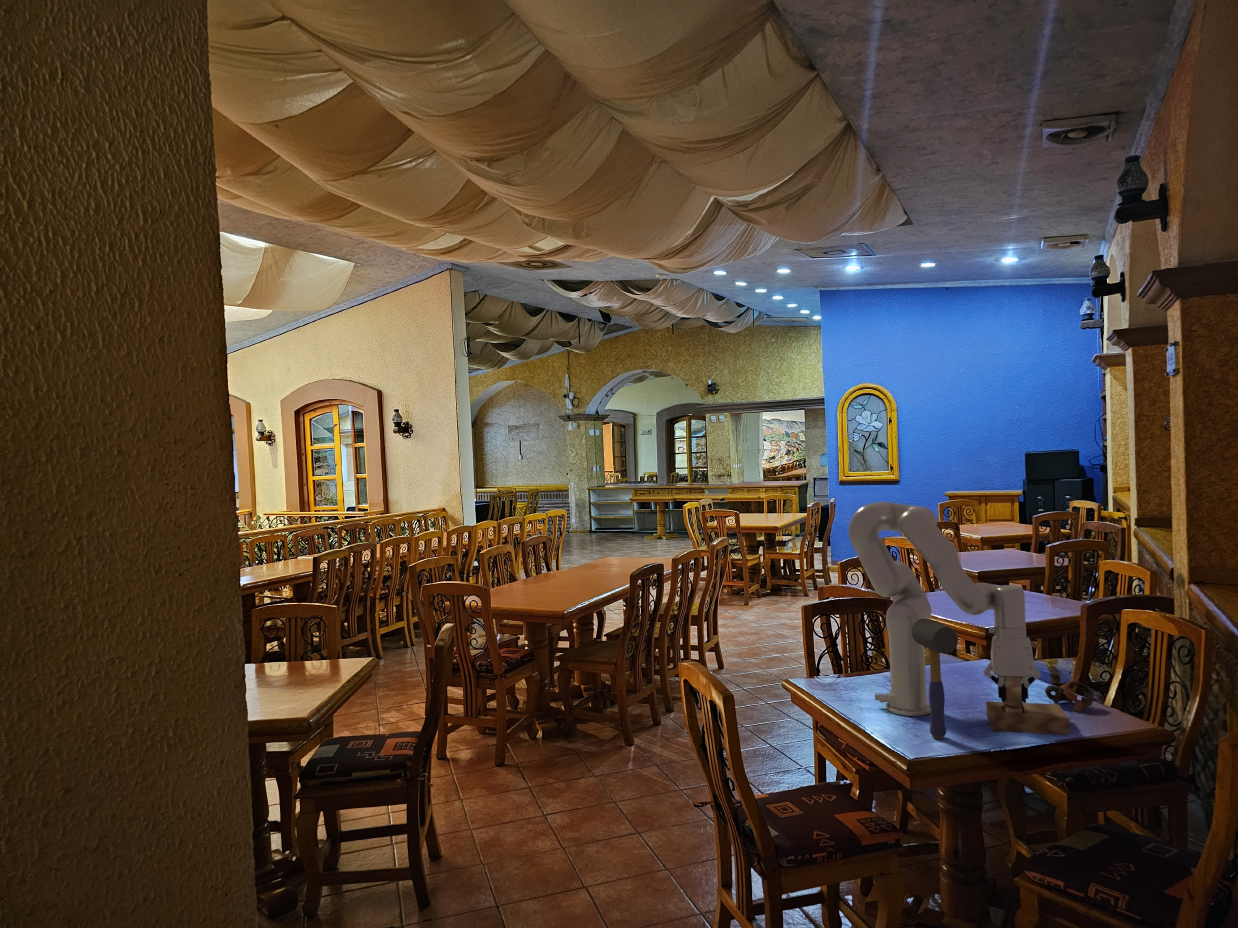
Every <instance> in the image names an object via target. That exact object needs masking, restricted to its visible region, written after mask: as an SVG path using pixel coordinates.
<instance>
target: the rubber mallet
mask: <svg viewBox="0 0 1238 928" xmlns="http://www.w3.org/2000/svg"><path fill="white" fill-rule="evenodd" d="M911 633H912V637H913V639H914V640H915V641H916V642H917V643H919V644H920V645H922V646H924V648H926V649H928V650H929V670H930V671H929V672H930V673H929V675H930V679H929V680H930V681H929V686H928V688H929V689H928V703H929V704H930V709H931V713H930V727H929V733H930V735H931V736H932V738H934V739H939V740H940V739H944V738H945V736H946V734H947V728H946V727H947V726H946V725H945V723H946V722H945V703H946V702H945V701H946V700H945V688H944V684H943V681H942V675H941V655H940V654H950V653H952V652H954V650H955V649H957V646H958V644H959V637H958V633H957V631H956V630H955V629H954V628H952V627H950V626H949V625H947V624H944V623H941V622H939V621H936V620H933V619H931V618H930V619H919V620H918V621H916V622H915V623H914V624H913V627H912V631H911Z"/></svg>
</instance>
